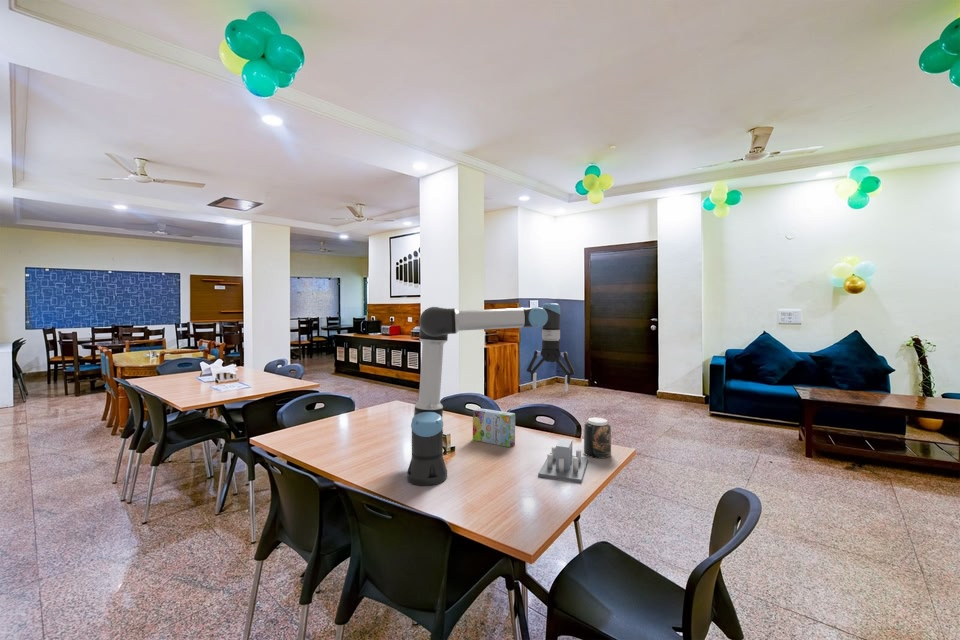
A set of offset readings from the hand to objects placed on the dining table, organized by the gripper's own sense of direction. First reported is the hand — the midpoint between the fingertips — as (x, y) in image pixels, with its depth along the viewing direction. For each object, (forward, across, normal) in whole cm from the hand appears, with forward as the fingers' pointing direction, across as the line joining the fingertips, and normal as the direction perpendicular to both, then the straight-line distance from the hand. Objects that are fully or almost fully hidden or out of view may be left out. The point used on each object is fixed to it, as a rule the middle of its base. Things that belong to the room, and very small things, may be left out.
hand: (550, 389), depth 170 cm
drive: (+28, +8, -7) cm, 30 cm away
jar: (+30, +18, +15) cm, 38 cm away
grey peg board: (+30, +8, -7) cm, 31 cm away
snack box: (+30, -30, +12) cm, 44 cm away
